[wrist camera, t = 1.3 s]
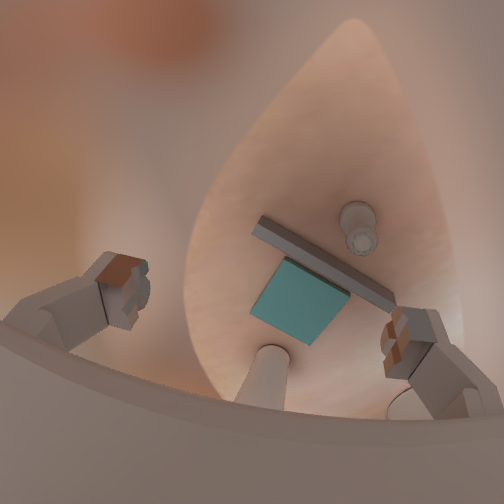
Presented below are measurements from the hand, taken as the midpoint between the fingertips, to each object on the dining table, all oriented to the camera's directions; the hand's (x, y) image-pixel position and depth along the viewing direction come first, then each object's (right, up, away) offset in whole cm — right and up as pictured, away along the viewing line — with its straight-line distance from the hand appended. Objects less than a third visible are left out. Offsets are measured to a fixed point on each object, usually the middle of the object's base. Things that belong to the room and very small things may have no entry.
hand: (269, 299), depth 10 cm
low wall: (+9, 0, +29) cm, 31 cm away
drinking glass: (+3, -15, +38) cm, 41 cm away
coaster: (+6, -5, +33) cm, 34 cm away
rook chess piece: (+12, +6, +27) cm, 30 cm away
